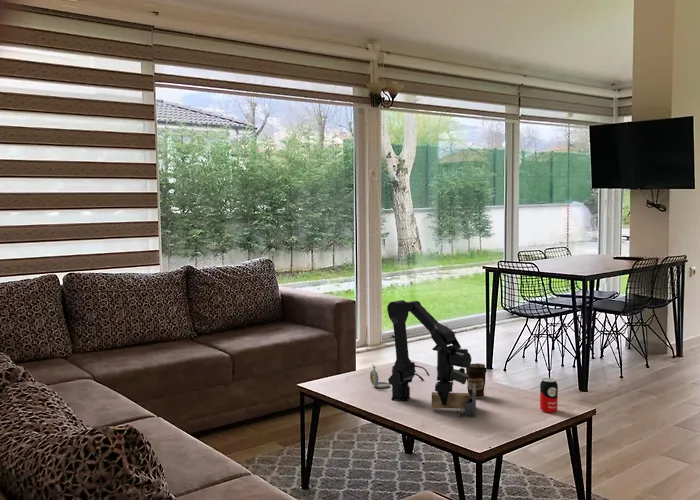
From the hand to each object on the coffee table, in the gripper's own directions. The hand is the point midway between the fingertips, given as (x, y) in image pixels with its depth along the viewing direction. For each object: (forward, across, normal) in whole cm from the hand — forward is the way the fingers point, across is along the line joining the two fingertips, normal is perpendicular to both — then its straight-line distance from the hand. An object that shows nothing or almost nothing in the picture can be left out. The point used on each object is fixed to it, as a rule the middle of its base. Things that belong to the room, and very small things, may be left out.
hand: (444, 403), depth 258 cm
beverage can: (+3, +6, -39) cm, 39 cm away
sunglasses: (+3, +47, +18) cm, 50 cm away
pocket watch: (+3, +28, +29) cm, 41 cm away
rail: (+1, 0, -2) cm, 2 cm away
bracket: (+3, 0, -8) cm, 9 cm away
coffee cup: (+3, +20, -12) cm, 23 cm away
